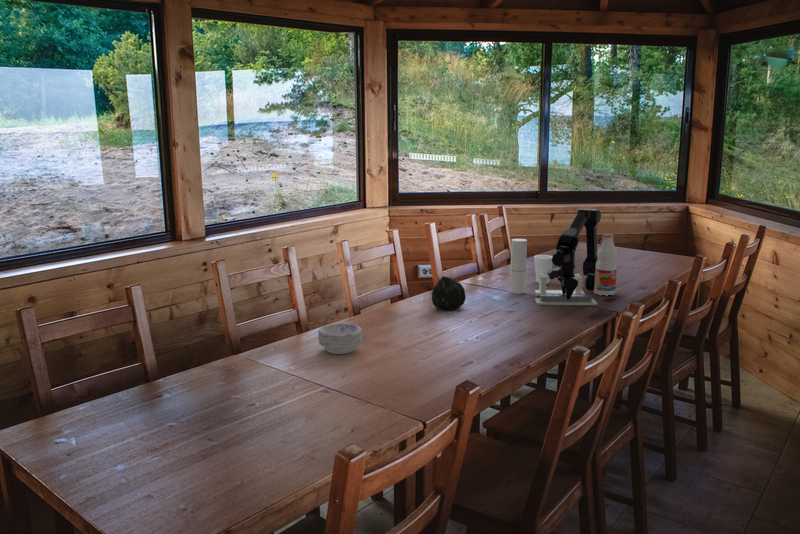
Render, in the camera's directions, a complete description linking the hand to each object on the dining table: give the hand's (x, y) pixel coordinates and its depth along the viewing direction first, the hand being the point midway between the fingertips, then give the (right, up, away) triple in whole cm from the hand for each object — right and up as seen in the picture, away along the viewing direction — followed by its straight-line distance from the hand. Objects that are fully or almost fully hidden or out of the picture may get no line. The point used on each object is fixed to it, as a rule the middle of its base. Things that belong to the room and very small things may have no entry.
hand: (565, 296), depth 279 cm
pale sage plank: (0, -3, +1) cm, 3 cm away
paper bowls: (-95, -16, -56) cm, 111 cm away
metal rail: (0, -2, 0) cm, 2 cm away
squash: (-52, -5, -6) cm, 53 cm away
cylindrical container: (-18, +1, +19) cm, 26 cm away
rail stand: (+1, 0, +14) cm, 14 cm away
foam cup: (-2, +6, +38) cm, 38 cm away
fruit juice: (+22, +1, +15) cm, 27 cm away
